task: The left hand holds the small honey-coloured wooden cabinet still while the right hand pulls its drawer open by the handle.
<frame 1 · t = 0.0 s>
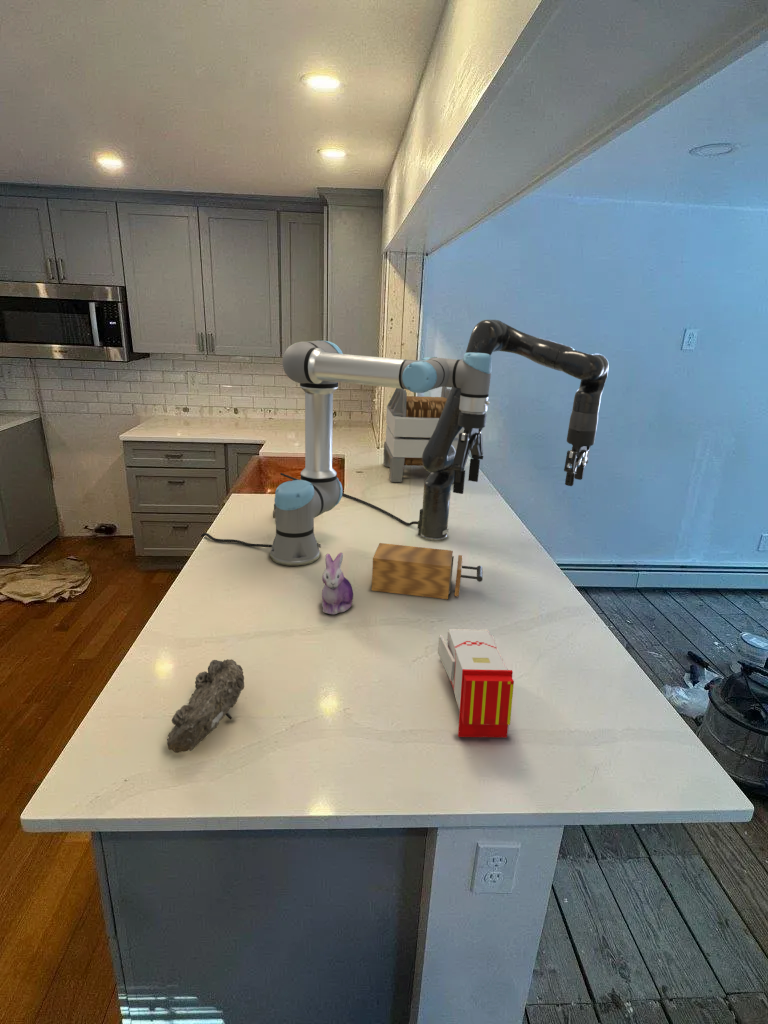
left hand: (465, 486, 161), 28 cm above the counter, tool pointing down, fingers open, 13 cm apart
right hand: (573, 482, 165), 29 cm above the counter, tool pointing down, fingers open, 8 cm apart
cabinet: (411, 586, 163), on the counter
fossil: (212, 717, 108), on the counter
toy: (469, 691, 119), on the counter
drawer: (435, 572, 160), point 5 cm above the counter, slide at 1.7 cm
figurine character: (284, 518, 209), on the counter
transformer: (419, 473, 275), on the counter
figurine: (336, 607, 150), on the counter
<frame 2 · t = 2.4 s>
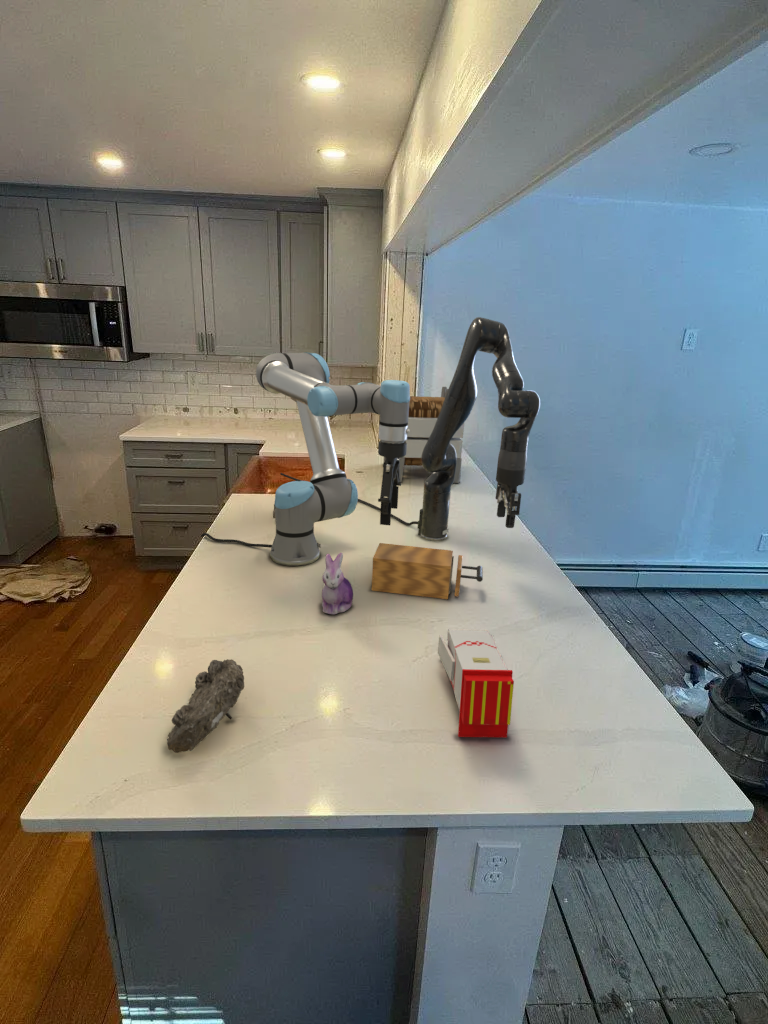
left hand: (389, 516, 157), 21 cm above the counter, tool pointing down, fingers open, 13 cm apart
right hand: (504, 521, 158), 20 cm above the counter, tool pointing down, fingers open, 8 cm apart
nothing on the counter moved.
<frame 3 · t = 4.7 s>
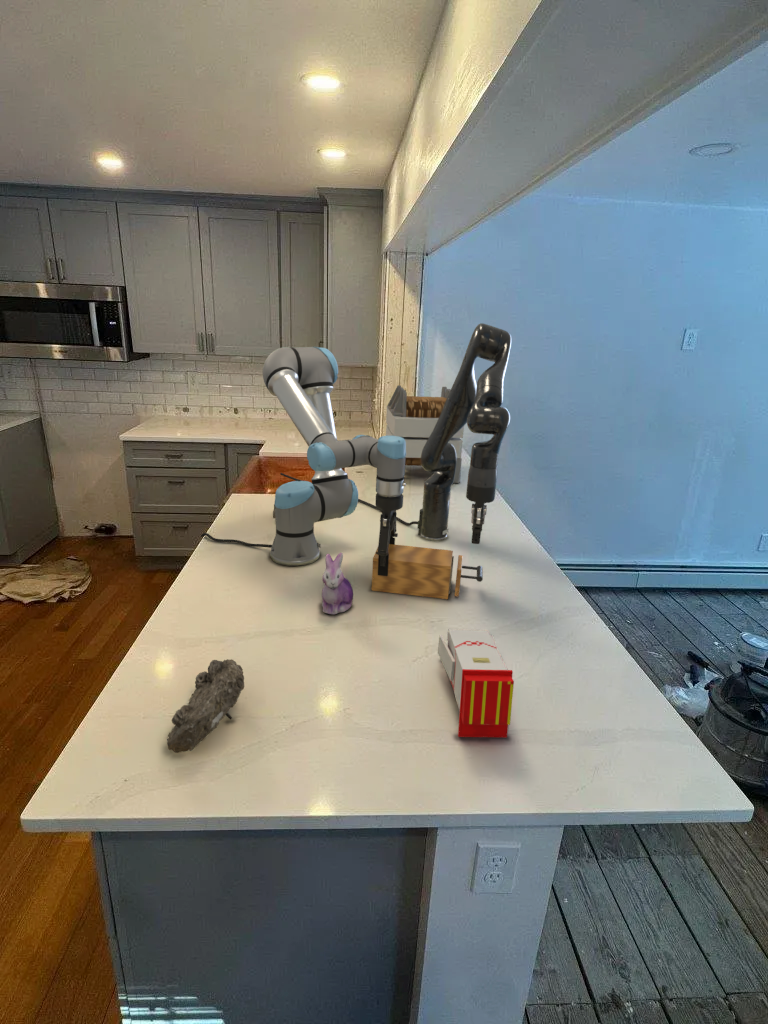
left hand: (386, 566, 162), 5 cm above the counter, tool pointing down, fingers closed on cabinet, 11 cm apart
right hand: (475, 542, 155), 15 cm above the counter, tool pointing down, fingers closed
cabinet: (411, 586, 163), on the counter, touching left hand
everything else where it was.
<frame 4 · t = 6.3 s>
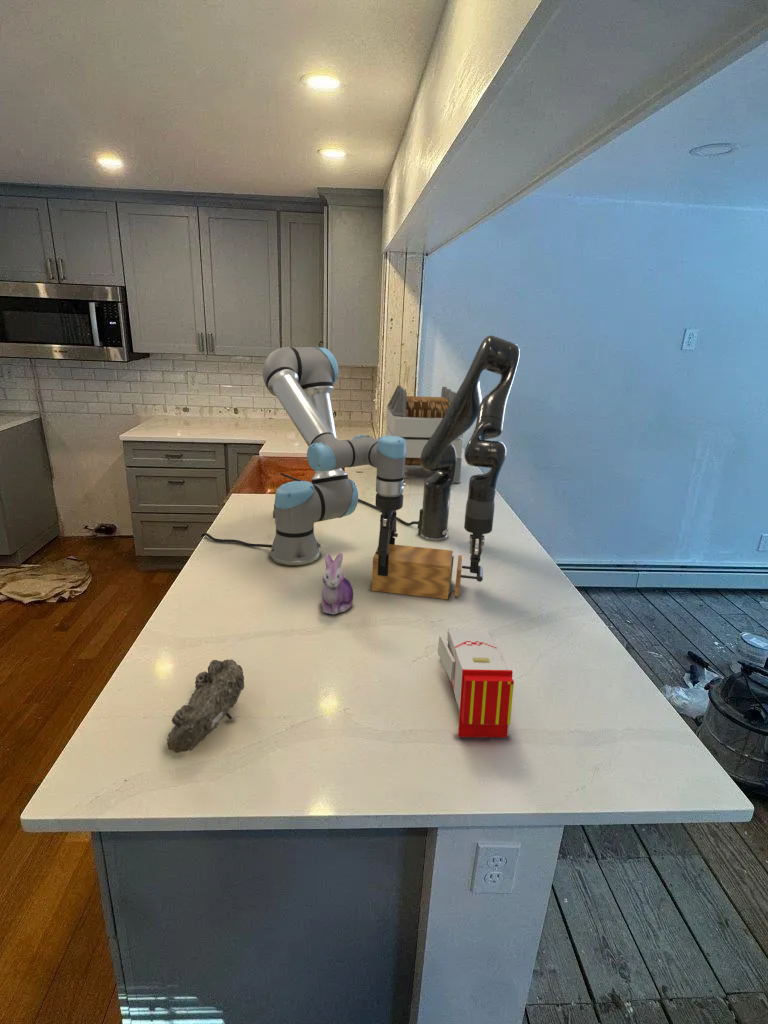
left hand: (386, 566, 162), 5 cm above the counter, tool pointing down, fingers closed on cabinet, 11 cm apart
right hand: (473, 571, 158), 7 cm above the counter, tool pointing down, fingers closed
cabinet: (411, 586, 163), on the counter, touching left hand
drawer: (435, 572, 160), point 5 cm above the counter, slide at 1.7 cm, touching right hand
everything else where it was.
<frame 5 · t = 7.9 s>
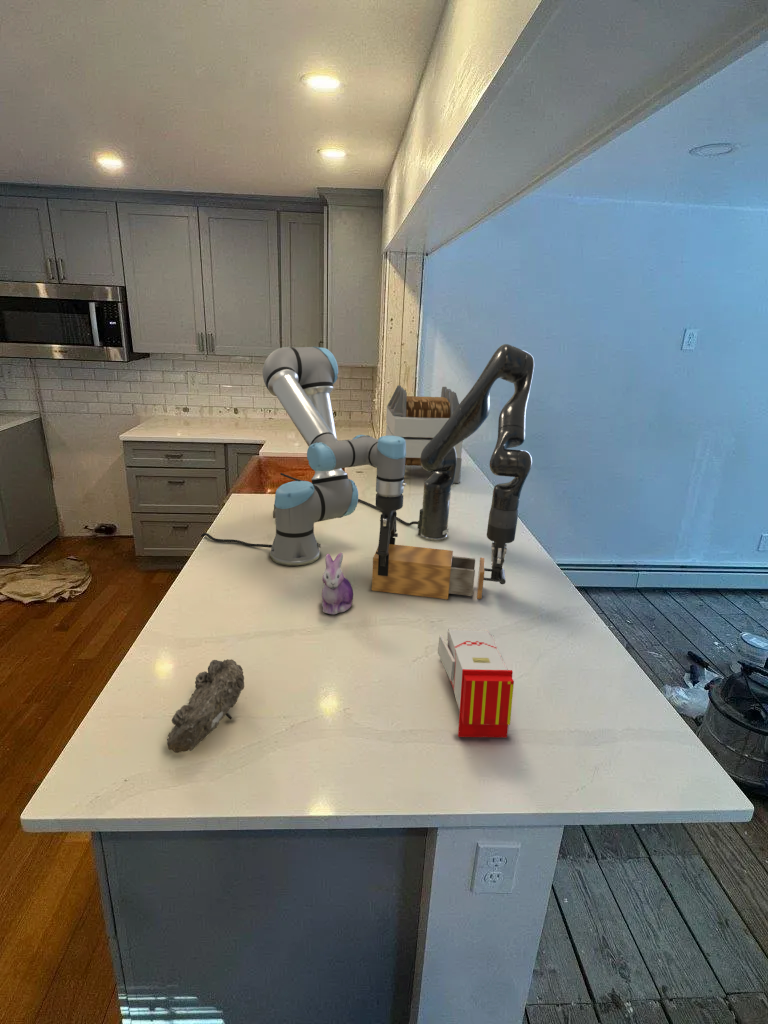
left hand: (386, 566, 162), 5 cm above the counter, tool pointing down, fingers closed on cabinet, 11 cm apart
right hand: (494, 580, 158), 5 cm above the counter, tool pointing down, fingers closed
cabinet: (411, 586, 163), on the counter, touching left hand
drawer: (457, 575, 159), point 5 cm above the counter, slide at 7.8 cm, touching right hand
everything else where it was.
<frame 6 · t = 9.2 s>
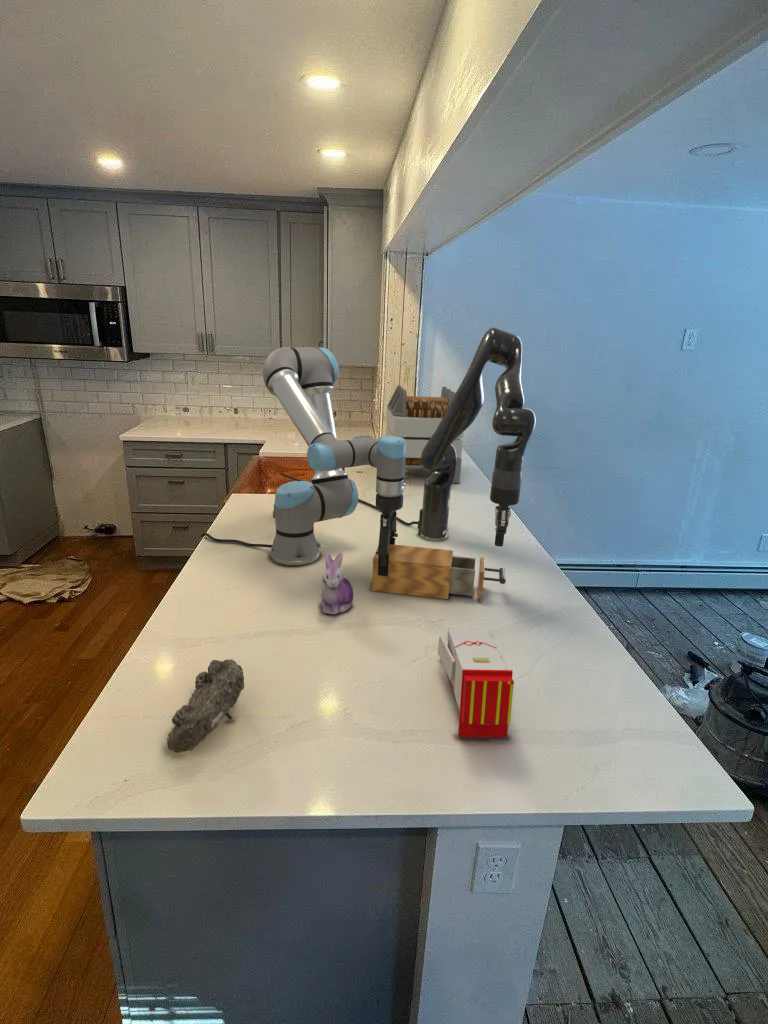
left hand: (386, 566, 162), 5 cm above the counter, tool pointing down, fingers closed on cabinet, 11 cm apart
right hand: (498, 545, 154), 15 cm above the counter, tool pointing down, fingers closed
cabinet: (411, 586, 163), on the counter, touching left hand
drawer: (457, 575, 159), point 5 cm above the counter, slide at 7.8 cm
everything else where it was.
when the left hand's fingers open (5 cm above the counter, at t = 9.9 s): cabinet stays where it is, on the counter.
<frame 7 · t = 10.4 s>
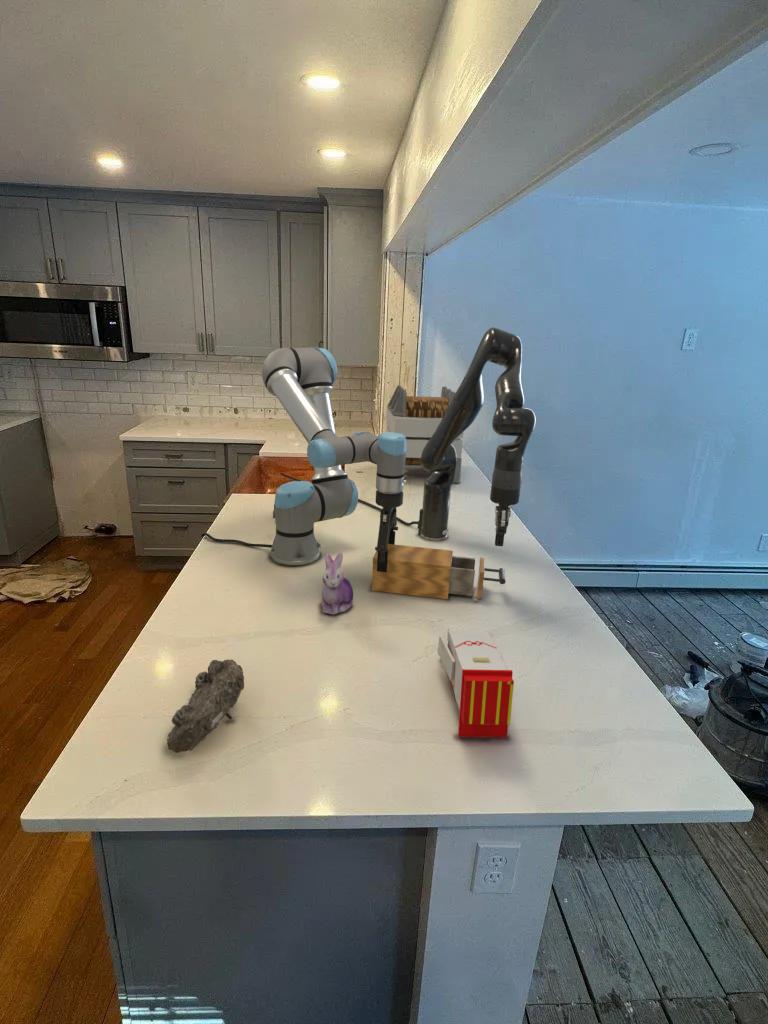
left hand: (385, 561, 162), 7 cm above the counter, tool pointing down, fingers open, 13 cm apart
right hand: (498, 545, 154), 15 cm above the counter, tool pointing down, fingers closed
cabinet: (411, 586, 163), on the counter
everything else where it was.
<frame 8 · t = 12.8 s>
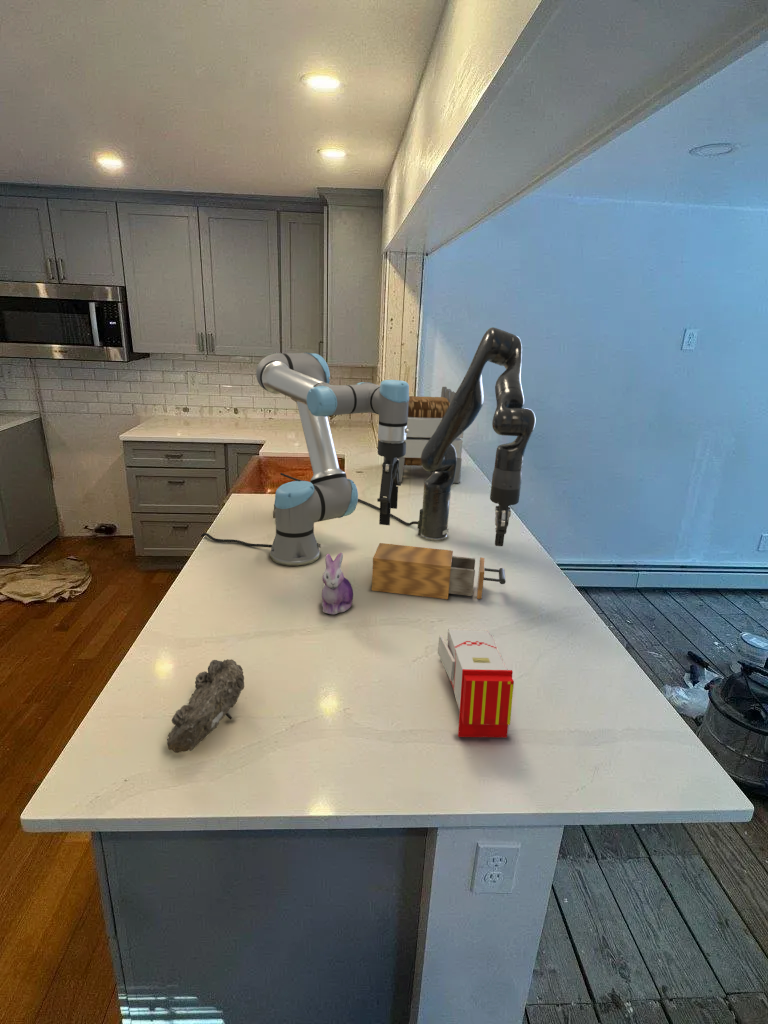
left hand: (388, 516, 157), 21 cm above the counter, tool pointing down, fingers open, 13 cm apart
right hand: (498, 545, 154), 15 cm above the counter, tool pointing down, fingers closed
nothing on the counter moved.
at the end: drawer slide at 7.8 cm; cabinet tilted 0°; cabinet never tilted more than 1° during the clip; cabinet moved 0.0 cm from its start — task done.
